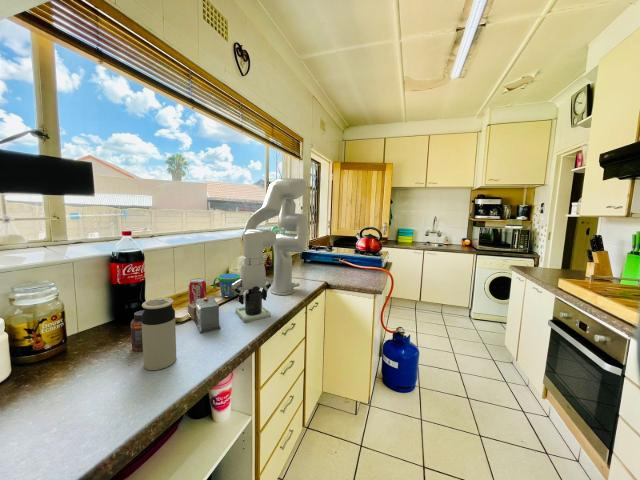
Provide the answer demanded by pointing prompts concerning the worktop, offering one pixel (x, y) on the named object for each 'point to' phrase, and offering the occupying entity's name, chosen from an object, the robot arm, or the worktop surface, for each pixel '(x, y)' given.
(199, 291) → the soda can
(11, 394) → the worktop surface
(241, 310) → the tray
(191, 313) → the walnut block
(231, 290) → the snack cup
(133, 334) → the supplement bottle
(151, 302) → the travel mug
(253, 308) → the supplement bottle
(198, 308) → the control box
